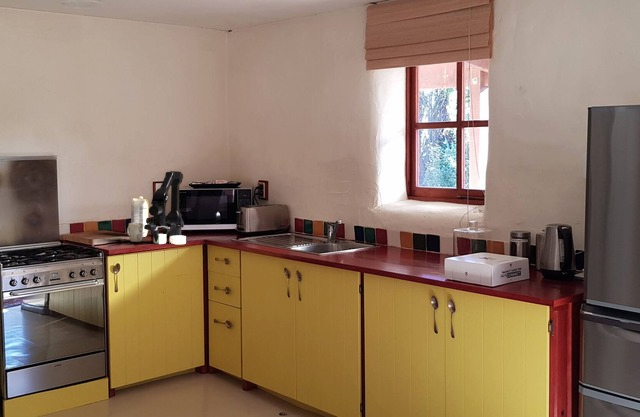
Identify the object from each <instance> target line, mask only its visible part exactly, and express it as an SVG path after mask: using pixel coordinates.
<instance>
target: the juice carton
mask: <svg viewBox="0 0 640 417" xmlns="http://www.w3.org/2000/svg"><path fill="white" fill-rule="evenodd" d="M149 208H150V206H149V199H148V198H144V196H140V195H139V196H138V198H137V197H134V198H132V201H131V210H130V212H131V214H130V216H131V220H130V223H143V224H144V225H143V232H142V238H146V237H147V235H148V232H149V230H146V229H144V226H145V224H147V223H146V218H149Z"/></svg>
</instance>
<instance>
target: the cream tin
mask: <svg viewBox="0 0 640 417" xmlns="http://www.w3.org/2000/svg"><path fill="white" fill-rule="evenodd" d="M186 239H187V236H186V235H182V234H181V235H173V236H170V237H169V244H170V243H171V244H170V245H185V244H186V243H187V240H186Z"/></svg>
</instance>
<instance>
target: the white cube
mask: <svg viewBox="0 0 640 417" xmlns="http://www.w3.org/2000/svg"><path fill="white" fill-rule="evenodd" d="M153 244H157V245H163V244H167V237H166V234H162V233H159V234H158V240H157V242H155V239H154V238H153Z"/></svg>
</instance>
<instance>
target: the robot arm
mask: <svg viewBox="0 0 640 417" xmlns="http://www.w3.org/2000/svg"><path fill="white" fill-rule="evenodd" d="M183 179H184V174H183V173H182V171H175V170H173V171H172V170H170V171H166V172H165V175H164V178H163V180H162V183H161V185H160V187H159V188H158V189H157V188H156V190H155V191H154V194H153V196H152V199H151V202H150V205H151V206H149V207H148V214H149V215H150V216H152V217H153V218H151V217H148V218H146V223H147V224H145V226H144V229H146V230H148V232H149V231H150V232H151V234H152V236H153V240H154V239H155V242H157V240H158V234H160V233H159V232H160V230H159V229H161V231H162V233H161V234H166V238H167V237H168V238H170V236H173V235H181V236H182V228H185V223H184V220H183V218H182V216H183V215H182V213H181V212H180V186H181V184H182V182H183ZM170 187H171V188H170ZM170 189H171V190H170ZM169 190H170V192H171V193H170V211H169V213H166V212H167V210H166V209H167V203H168V200H169ZM166 214H167V215H166ZM168 234H169V235H168Z"/></svg>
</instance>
